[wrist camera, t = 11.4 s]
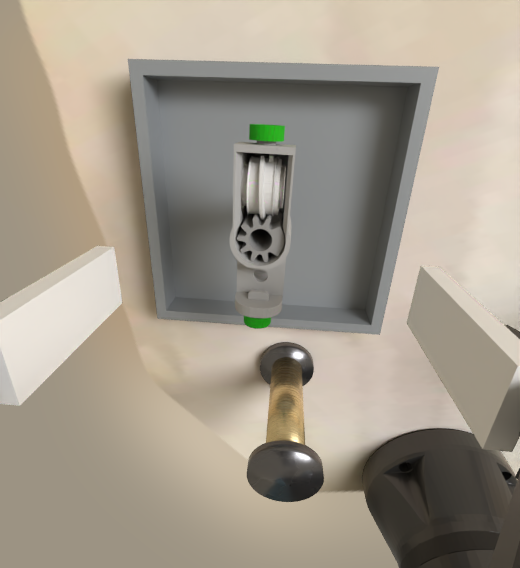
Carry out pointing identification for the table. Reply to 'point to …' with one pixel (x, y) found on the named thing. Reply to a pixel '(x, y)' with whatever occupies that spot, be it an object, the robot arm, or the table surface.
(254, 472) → the bobbin
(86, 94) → the table surface
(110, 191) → the table surface
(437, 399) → the table surface
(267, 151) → the mechanical component
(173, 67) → the parts tray
